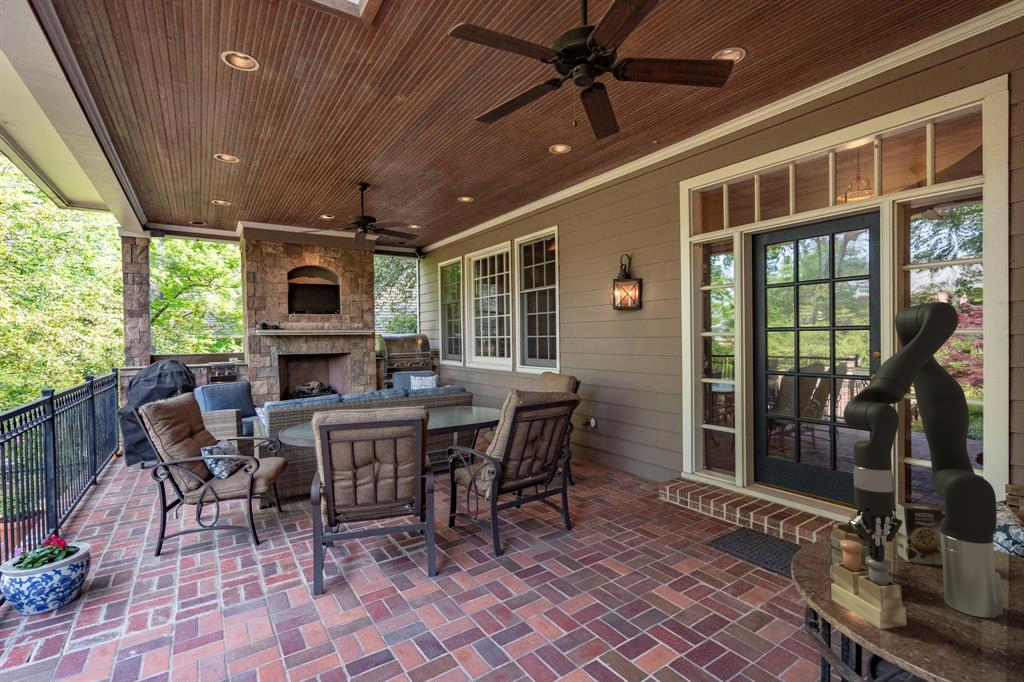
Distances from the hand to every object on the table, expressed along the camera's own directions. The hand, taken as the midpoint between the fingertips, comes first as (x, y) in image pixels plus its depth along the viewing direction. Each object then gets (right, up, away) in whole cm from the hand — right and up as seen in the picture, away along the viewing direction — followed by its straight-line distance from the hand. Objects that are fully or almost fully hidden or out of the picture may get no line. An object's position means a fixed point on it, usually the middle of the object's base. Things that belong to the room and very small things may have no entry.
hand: (877, 559), depth 108 cm
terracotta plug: (-1, -6, +7) cm, 9 cm away
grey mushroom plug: (0, -7, 0) cm, 7 cm away
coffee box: (+37, -14, +29) cm, 49 cm away
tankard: (+11, -15, +21) cm, 28 cm away
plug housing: (0, -14, +3) cm, 14 cm away
